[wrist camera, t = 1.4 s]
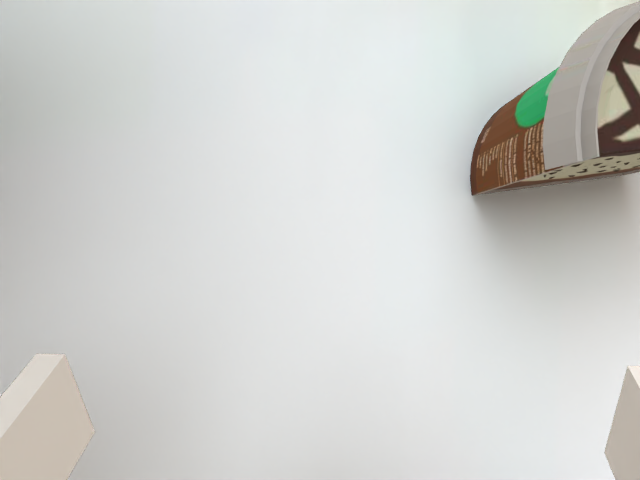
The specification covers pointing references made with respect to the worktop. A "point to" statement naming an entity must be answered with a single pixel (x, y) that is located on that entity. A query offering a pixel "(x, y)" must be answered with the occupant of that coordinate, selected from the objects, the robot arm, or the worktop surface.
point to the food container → (570, 116)
